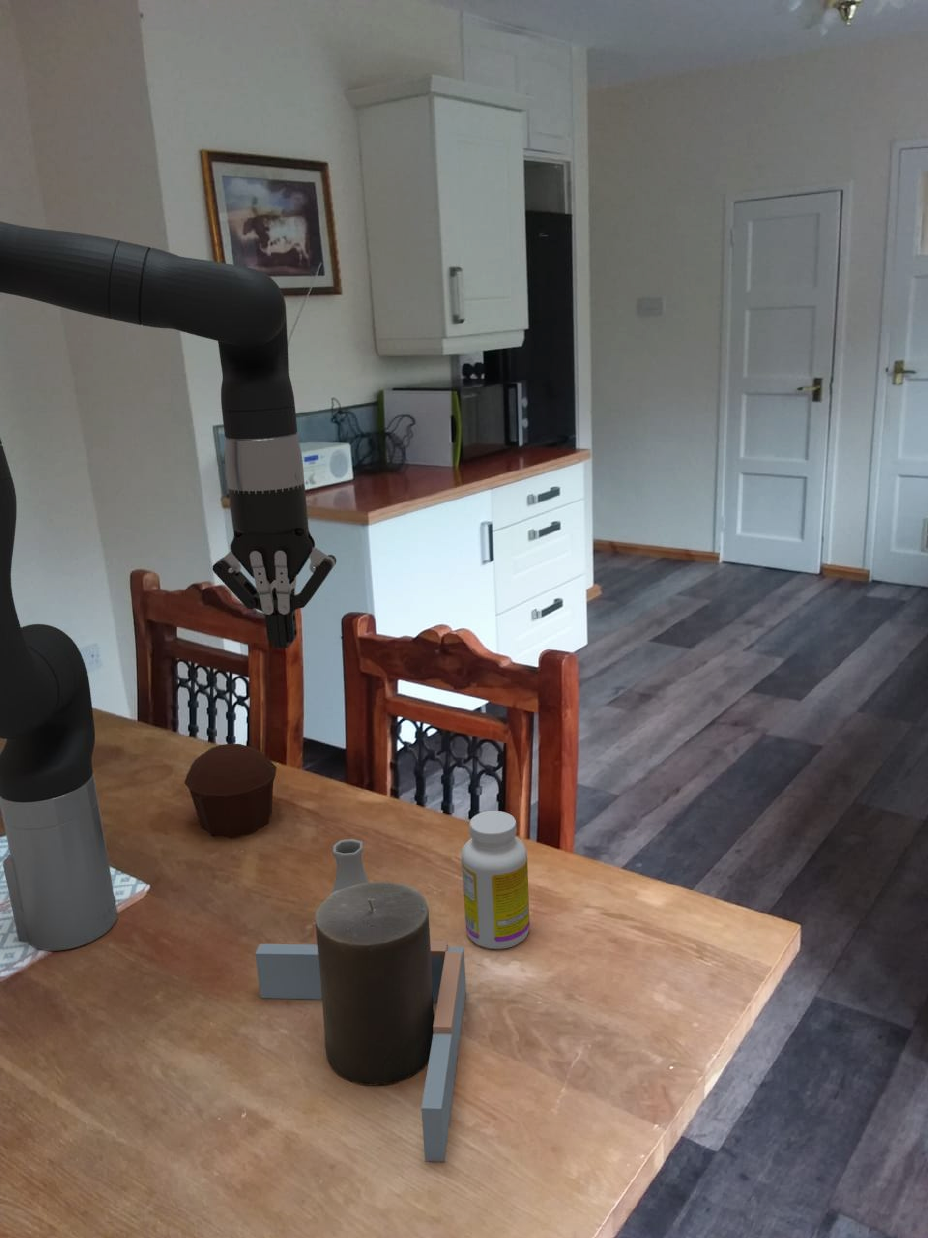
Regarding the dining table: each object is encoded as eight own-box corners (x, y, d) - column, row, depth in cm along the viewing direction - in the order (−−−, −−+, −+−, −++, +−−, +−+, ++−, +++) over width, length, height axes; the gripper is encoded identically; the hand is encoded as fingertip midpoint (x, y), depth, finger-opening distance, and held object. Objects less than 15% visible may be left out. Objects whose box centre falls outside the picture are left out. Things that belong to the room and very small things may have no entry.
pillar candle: (391, 1103, 80) (381, 946, 76) (302, 1058, 86) (288, 908, 81) (457, 1033, 88) (451, 886, 84) (372, 995, 93) (363, 855, 89)
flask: (378, 954, 99) (371, 868, 96) (310, 948, 101) (301, 862, 98) (397, 913, 106) (391, 830, 103) (333, 908, 108) (325, 826, 105)
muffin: (300, 813, 128) (292, 743, 125) (239, 852, 120) (229, 778, 117) (234, 793, 135) (226, 725, 132) (172, 829, 126) (161, 757, 123)
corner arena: (195, 1152, 76) (186, 1094, 75) (265, 988, 95) (259, 938, 93) (444, 1162, 75) (440, 1102, 73) (465, 992, 93) (463, 941, 92)
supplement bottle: (539, 921, 103) (536, 812, 100) (515, 958, 98) (511, 844, 94) (481, 908, 106) (476, 801, 102) (454, 943, 101) (448, 831, 97)
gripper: (339, 473, 101) (352, 633, 106) (214, 476, 102) (232, 635, 107) (323, 486, 94) (337, 657, 99) (188, 489, 95) (209, 658, 100)
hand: (282, 645), depth 103 cm, fingers closed
